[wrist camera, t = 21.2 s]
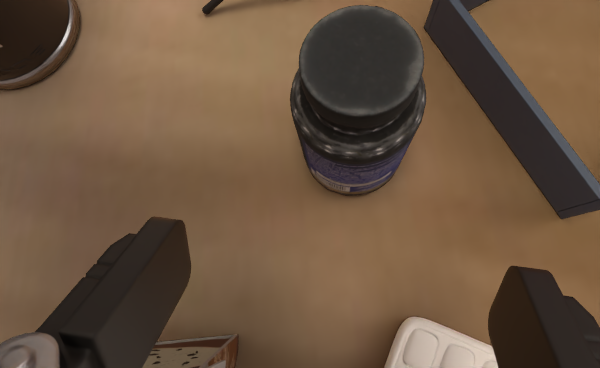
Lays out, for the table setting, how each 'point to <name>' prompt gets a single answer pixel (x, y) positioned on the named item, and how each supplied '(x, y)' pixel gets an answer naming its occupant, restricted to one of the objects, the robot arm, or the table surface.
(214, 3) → the glasses
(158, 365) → the food container
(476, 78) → the fence
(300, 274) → the table surface
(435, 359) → the calculator
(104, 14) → the table surface
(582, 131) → the table surface
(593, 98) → the table surface
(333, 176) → the pill bottle
